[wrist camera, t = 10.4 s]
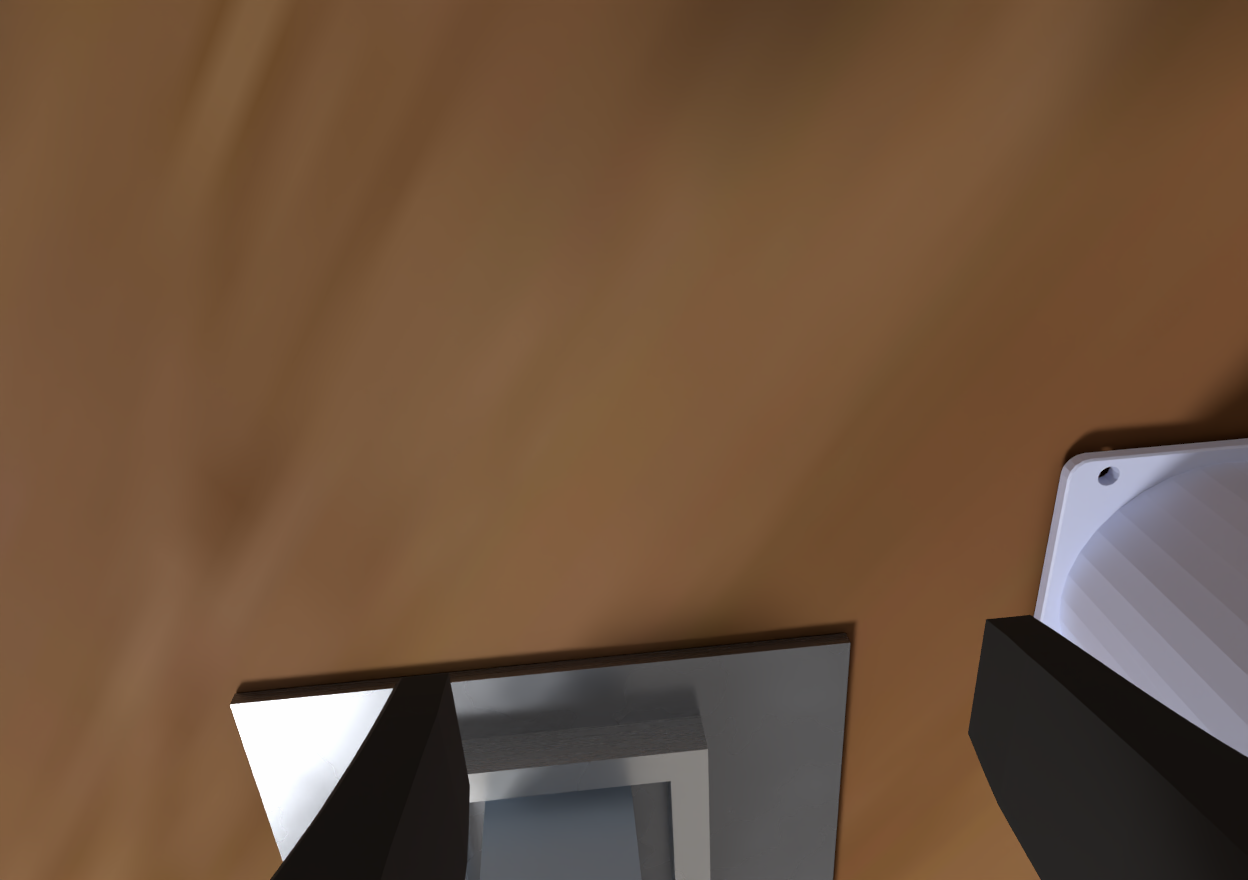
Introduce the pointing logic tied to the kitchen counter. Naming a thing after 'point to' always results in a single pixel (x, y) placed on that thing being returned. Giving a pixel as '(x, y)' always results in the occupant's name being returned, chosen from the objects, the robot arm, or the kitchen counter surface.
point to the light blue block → (561, 837)
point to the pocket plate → (610, 749)
